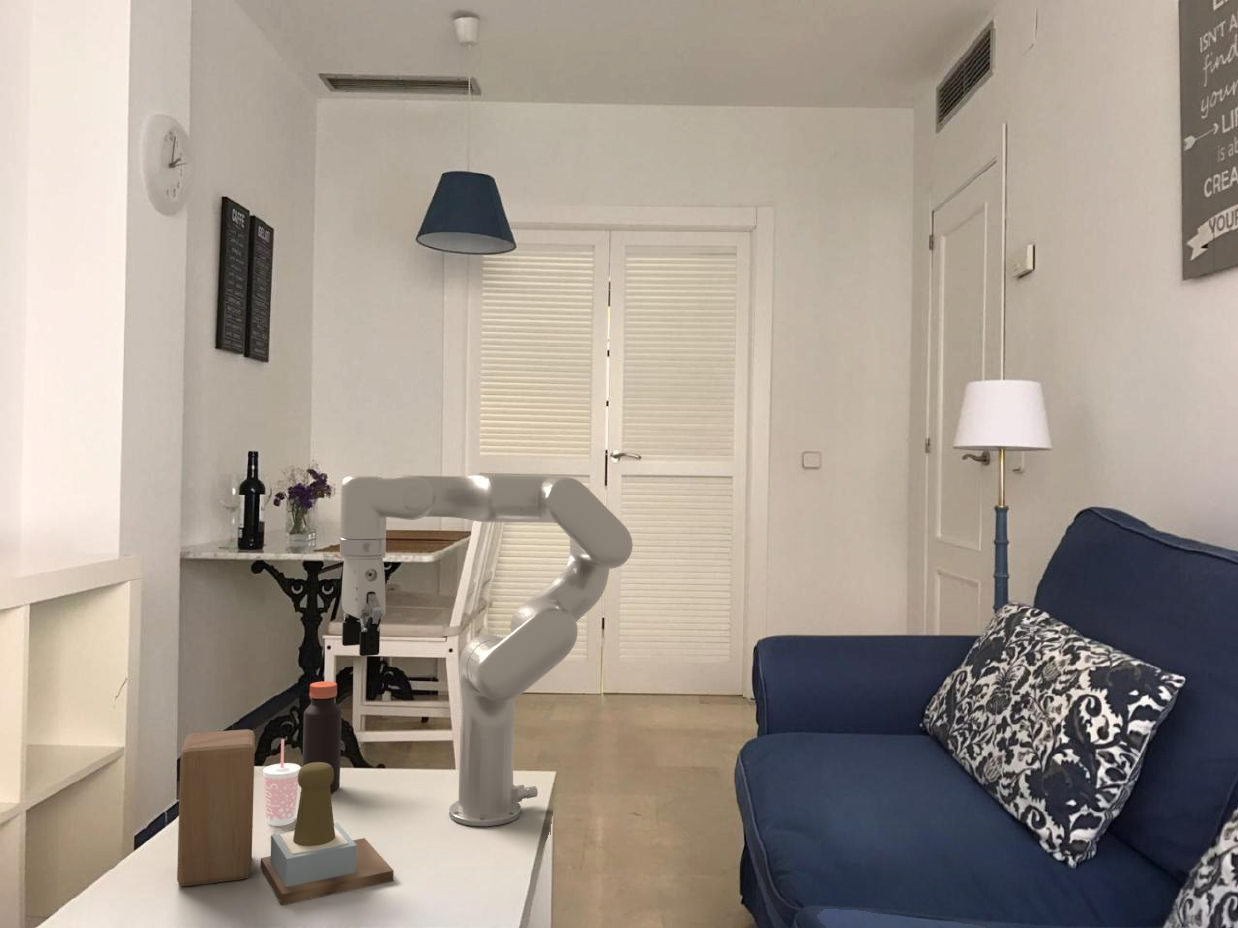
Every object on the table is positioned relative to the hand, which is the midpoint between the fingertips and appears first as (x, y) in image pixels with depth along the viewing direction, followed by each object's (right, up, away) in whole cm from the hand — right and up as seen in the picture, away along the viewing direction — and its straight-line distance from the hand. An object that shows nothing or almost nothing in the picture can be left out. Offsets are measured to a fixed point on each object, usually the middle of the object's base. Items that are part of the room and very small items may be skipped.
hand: (360, 649), depth 159 cm
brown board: (0, -30, -18) cm, 35 cm away
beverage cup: (-15, -30, +3) cm, 34 cm away
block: (-17, -30, -17) cm, 39 cm away
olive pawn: (-2, -25, -18) cm, 31 cm away
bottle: (-13, -30, +18) cm, 38 cm away
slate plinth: (-2, -29, -19) cm, 34 cm away
